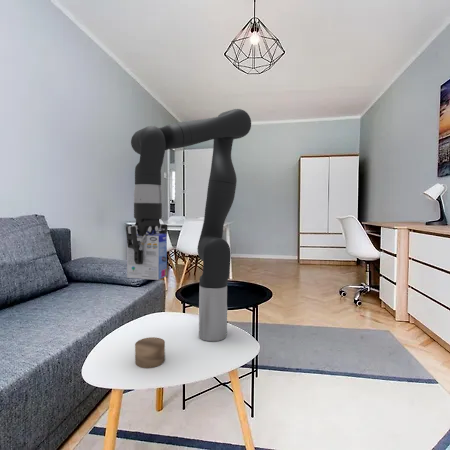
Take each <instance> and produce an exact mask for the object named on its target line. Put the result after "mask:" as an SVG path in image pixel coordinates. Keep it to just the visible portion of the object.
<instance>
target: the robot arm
mask: <svg viewBox="0 0 450 450" xmlns="http://www.w3.org/2000/svg"><path fill="white" fill-rule="evenodd" d="M251 129H252V120H251V117H250V115H249V113H248V112H247V111H246V110H244V109H241V108H233V109H229V110H227V111H224V112H221V113H219V114H218V116H214V117H208V118H203V119H202V118H201V119H194V120H192V119H191V120H188V121H187V120H186V121H179V122H174V123H170V124H167V125H164V126H161V127H158V126H155V125H148V126H146V127H143V128H140V129H139V130H137V131H135V132H134V133H133V135H132V136H131V138H130V146H131V148H132V150H133V151H134V152H135V153H137V154H138V155H139V162H138V163H137V164H136V165H135V167H134V168H135V169H134V189H133V218H134V219H135V224H134V225H126V226H125V232H126V245H127V244H128V248H131V249H134V261H135V263H136V264H143V250H142V249H143V246H144V244H145V243H146V242H147V235H148V234H152V232H153V230H154V234H167V235H168V227H169V225H168V224H166V223H161V222H160V220H161V219H162V218H163V192H162V191H163V190H162V167H163V163H164V158H165V154H166V151H168V150H174V149H182V148H185V147H190V146H194V145H197V144H201V143H205V142H208V141H211V140H213V145H212V147H213V148H212V149H213V150H212V157H211V166H210V173H209V179H208V185H207V190H206V201H205V208H204V216H203V217H204V218H203V223H202V228H201V232H200V236H199V238H198V244H197V248H196V249H197V254H198V257H199V259H200V260H202V261H203V262H202V274H201V275H200V276H199V292H198V300H199V301H198V337H199V339H200V340H203V341H207V342H219V341H222V340H225V338H226V337H227V333H228V280H229V278H230V273H231V271H230V270H231V247H230V245H229V243H228V242H227V241H226V240H225V239H223V236H224V235H223V233H224V225H225V221H226V220H227V217H228V215H229V213H230V210H231V208H232V205H233V203H234V200H235V194H236V190H237V174H236V171H235V168H234V167H235V166H234V164H233V160H232V150H233V149H232V148H233V143H234V140H237V139H242V138H245V136H247V135H248V134H249V133H250V131H251ZM137 234H139V235H140V236H143V238H137ZM132 241H133V244H132ZM138 242H140V244H139V245H138Z"/></svg>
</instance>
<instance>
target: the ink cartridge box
mask: <svg viewBox="0 0 450 450" xmlns="http://www.w3.org/2000/svg"><path fill="white" fill-rule="evenodd" d="M167 237H168V233H167V234H154V230H153V232H152V234H148V235H147V242H146V243H145V244H144V246H143V249H142V250H143V264H136V263H135V261H134V249H131V248H128V244H127V243H126V278H127V279H140V280H141V279H142V280H156V281H157V280H158V281H159V280H161V279H164V278H166V277H167V276H168V264H167V262H168V259H167V257H168V256H167V255H168V252H167V251H168V249H167V248H168V247H167V244H168V243H167V240H168V238H167ZM137 238H143V236H140V235H139V234H137ZM132 244H133V241H132ZM139 244H140V242H138V245H139Z"/></svg>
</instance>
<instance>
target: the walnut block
mask: <svg viewBox="0 0 450 450" xmlns="http://www.w3.org/2000/svg"><path fill="white" fill-rule="evenodd" d="M165 343H166V342H165V340H164V339H163V338H160V337H155V336H154V337H152V336H151V337H144V338H141V339H138V340H137V341H136V342H135V343H134V364H135V365H136V366H137V367H138V368H142V369H152V368H157V367H160V366H161V365H163V364H164V362H165V360H166V358H165V357H166V355H165V354H166V352H165V351H166V349H165V347H166V346H165Z"/></svg>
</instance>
